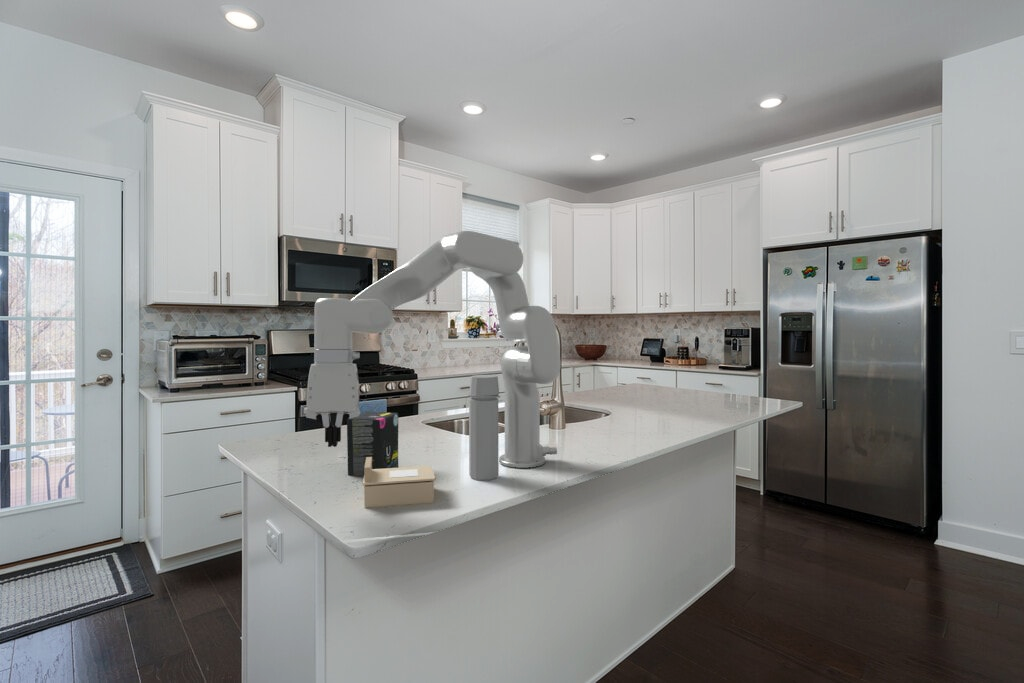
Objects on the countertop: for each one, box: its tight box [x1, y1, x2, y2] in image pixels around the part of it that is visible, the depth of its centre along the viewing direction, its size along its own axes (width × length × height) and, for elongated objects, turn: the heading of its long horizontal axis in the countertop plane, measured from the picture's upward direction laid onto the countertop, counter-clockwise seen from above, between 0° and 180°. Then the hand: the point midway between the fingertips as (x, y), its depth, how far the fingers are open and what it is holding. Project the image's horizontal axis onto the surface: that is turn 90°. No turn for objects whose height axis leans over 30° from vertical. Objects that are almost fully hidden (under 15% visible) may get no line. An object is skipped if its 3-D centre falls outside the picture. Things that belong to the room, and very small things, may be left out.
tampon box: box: [346, 411, 399, 477], centre depth 131 cm, size 11×9×15 cm
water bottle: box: [467, 374, 501, 482], centre depth 126 cm, size 9×8×25 cm
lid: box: [362, 457, 436, 486], centre depth 111 cm, size 15×10×3 cm
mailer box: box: [363, 480, 435, 509], centre depth 111 cm, size 14×10×5 cm
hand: (332, 445), depth 107 cm, fingers closed
